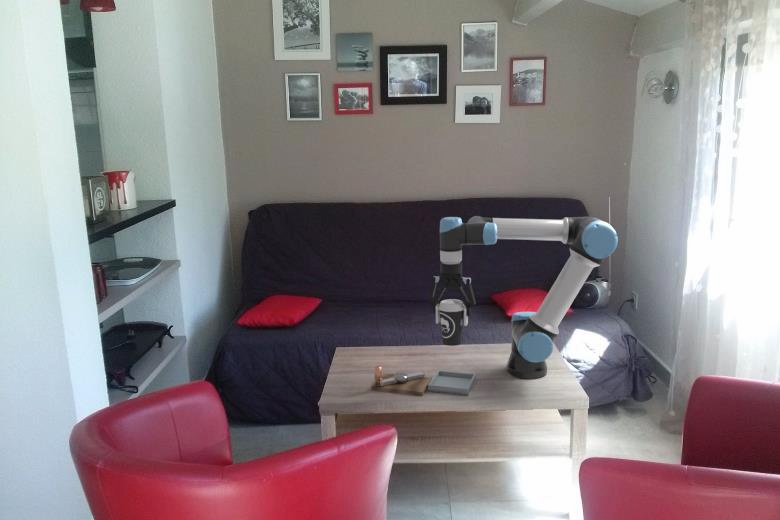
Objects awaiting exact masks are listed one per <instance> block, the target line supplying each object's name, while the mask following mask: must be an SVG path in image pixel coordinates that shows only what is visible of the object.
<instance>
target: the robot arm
mask: <svg viewBox="0 0 780 520" xmlns="http://www.w3.org/2000/svg"><path fill="white" fill-rule="evenodd" d="M498 240H524V241H526V240H528V241H555V242H558V241H559V242H562V244H565V245H570V247H569V252H570V256H569V258H568V259H567V261H566V263H565V264H564V266H563V268H562V269H561V271H560V273H559V274H558V276H557V278H556V280H555V281H554V283H553V284H552V286H551V288H550V289H549V291H548V293H547V295H546V296H545V297H544V300H543V301H542V303H541V304H540V306H539V308H538V310H537V312H536V311H519V312H518V311H517V312H514V313H513V314H512V316H511V320H510V322H511V344H510V345H511V349H510V351H511V352H510V354H509V357H508V358H507V363H506V372H507V373H508V374H509V375H510V376H511V377H515V378H519V379H525V380H527V379H528V380H532V379H534V380H535V379H539V378H540V379H541V378H543V377H545V376H546V375H547V374H548V366H547V365H548V364H547V362H546V361H547V359H549V358H550V357H551V355H552V354H553V352H554V351H553V350H554V342H555V340H556V339H557V337H558V336H559V333H560V331H559V327H558V326H559V325H560V324H561V322H562V320H563V319H564V317H565V315H566V313H567V312H568V311H569V309H570V307H571V305H572V304H573V303H574V300H575V299H576V297H577V296H578V294H579V292H580V290H581V289H582V287H583V286H584V284H585V283H586V281H587V279H588V277H589V276H590V274H591V272H592V271H593V269H594V268H596V267H600V266H601V265H602V263H603V262H604V260H605V259H606V258H608V257H609V256H611V255H612V254H613V253H614V252H615V251H616V249H617V247H618V243H619V242H618V240H619V239H618V234H617V231H616V230H615V229H614V228H613V226H612V225H611V224H609V223H608V222H606V221H603V220H602V219H601V218H598V217H596V216H594V217H593V216H577V217H576V216H574V217H572V216H571V217H569V216H566V217H564V218H562V219H540V218H506V217H505V218H501V217H492V218H491V217H483V216H479V215H477V216H476V215H475V216H472V217H471V218H469V220H468V221H467V223H466V222H463V221H462V218H461V217H458V216H447V217H446V216H445V217H442V218H441V219H440V221H439V248H440V249H439V250H440V251H439V254H440V255H439V256H440V257H439V258H440V259H439V260H440V263H439V265H440V268H439V269H440V271H439V272H440V274H439V275H438V276H437V275H433V276H432V277H431V287H430V291H429V295H428V299H427V303H428V304H429V305H432V313H433V315H435V324H439V323H441V319H440V311H439V309H438V306H439V304H440V303H439V301H440V299H441V297H442V296H443V293H444V292H445V290H446V289H453V290H455V289H456V291H457V293H458V295H459V296H460V298H461V301H462V302H463V304H464V306H465V307H464V313H463V326H464V327H466V326H468V324H469V317H470V316H471V314H472V313H471V311H472V310H471V307H475V305H476V303H477V302H476V297H475V294H474V290H473V286H472V277H469V276H468V277H465V276H463V262H462V261H463V246H474V245H476V246H478V245H479V246H480V245H482V246H483V245H485V246H489V245H495V244H497V241H498ZM439 281H440V283H441V284H442V285H441V287H440V289H439V291H438V293H437V295H436V296H435V294H436V293H435V292H436V290H437V284H438V282H439ZM461 283H464V284H465V287H466V292H467V294H468V296H467V294H466V292H465V290H464V289H463V286H462V284H461ZM434 296H435V298H434Z"/></svg>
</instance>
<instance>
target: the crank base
mask: <svg viewBox="0 0 780 520" xmlns="http://www.w3.org/2000/svg"><path fill="white" fill-rule="evenodd" d="M395 374H396V373H387V372H384V373H382V380H384V379H389V378H393V377H394V375H395ZM432 378H433V377H427V376H426V377H422V378H418V379H413V380H408V381H407V382H406V383H393V384H389V385H384V386H375V382H373V384H372V385H371V391H373V390H375V391H376V392H383V393H393V394H399V395H400V394H401V395H411V396H418V397H423V396H424V394H425V393H426V391H428V384H429V383H430V381H431V380H432ZM375 391H374V392H375Z"/></svg>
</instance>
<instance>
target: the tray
mask: <svg viewBox="0 0 780 520" xmlns="http://www.w3.org/2000/svg"><path fill="white" fill-rule="evenodd" d="M431 378H432V380H431V381H430V383H429V384H428V389H427V392H429V393H439V394H448V395H456V396H466V397H469V395H470V393H471V391H472V389H473V387H474V385H475V383H476V381H477V373H471V372H462V371H461V372H459V371H450V370H441V369H438V370H437V371H436V372H435V374H434V375H433V377H431Z"/></svg>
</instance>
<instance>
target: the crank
mask: <svg viewBox="0 0 780 520" xmlns="http://www.w3.org/2000/svg"><path fill="white" fill-rule="evenodd" d="M382 374H383V373H382V365H379V364H378V365H375V366H374V383H375V386H384V385H389V384H393V383H406V382H407V381H408V380H413V379H418V378H422V377H425V375H426V374H425V373H424V372H422V371H419V372H413V373H409V374H408V373H407V372H396V373H394V374H395V375H394V377H393V378H389V379H384V380H382Z"/></svg>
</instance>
